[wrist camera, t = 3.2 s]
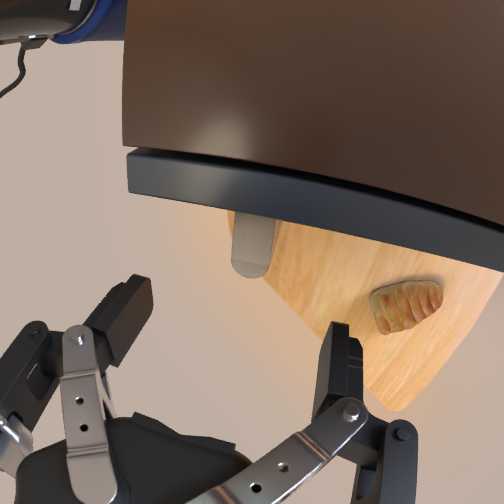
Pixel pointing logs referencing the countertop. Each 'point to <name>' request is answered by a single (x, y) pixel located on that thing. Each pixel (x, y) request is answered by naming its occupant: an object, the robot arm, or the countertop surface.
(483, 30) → the cupboard
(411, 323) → the pastry
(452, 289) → the countertop surface
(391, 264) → the countertop surface
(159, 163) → the door
